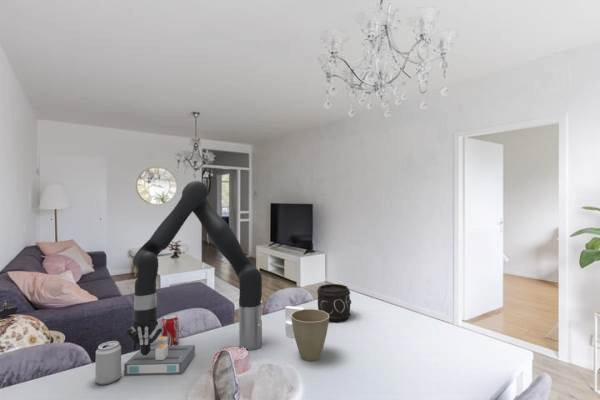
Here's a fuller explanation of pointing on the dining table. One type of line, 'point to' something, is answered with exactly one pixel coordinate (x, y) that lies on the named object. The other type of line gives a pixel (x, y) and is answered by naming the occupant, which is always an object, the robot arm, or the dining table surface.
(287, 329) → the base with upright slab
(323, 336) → the plant pot
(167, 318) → the soda can
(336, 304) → the dark brown cylinder
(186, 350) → the console
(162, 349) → the slider
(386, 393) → the dining table surface
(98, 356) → the can
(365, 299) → the dining table surface
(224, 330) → the dining table surface
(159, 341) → the slider
